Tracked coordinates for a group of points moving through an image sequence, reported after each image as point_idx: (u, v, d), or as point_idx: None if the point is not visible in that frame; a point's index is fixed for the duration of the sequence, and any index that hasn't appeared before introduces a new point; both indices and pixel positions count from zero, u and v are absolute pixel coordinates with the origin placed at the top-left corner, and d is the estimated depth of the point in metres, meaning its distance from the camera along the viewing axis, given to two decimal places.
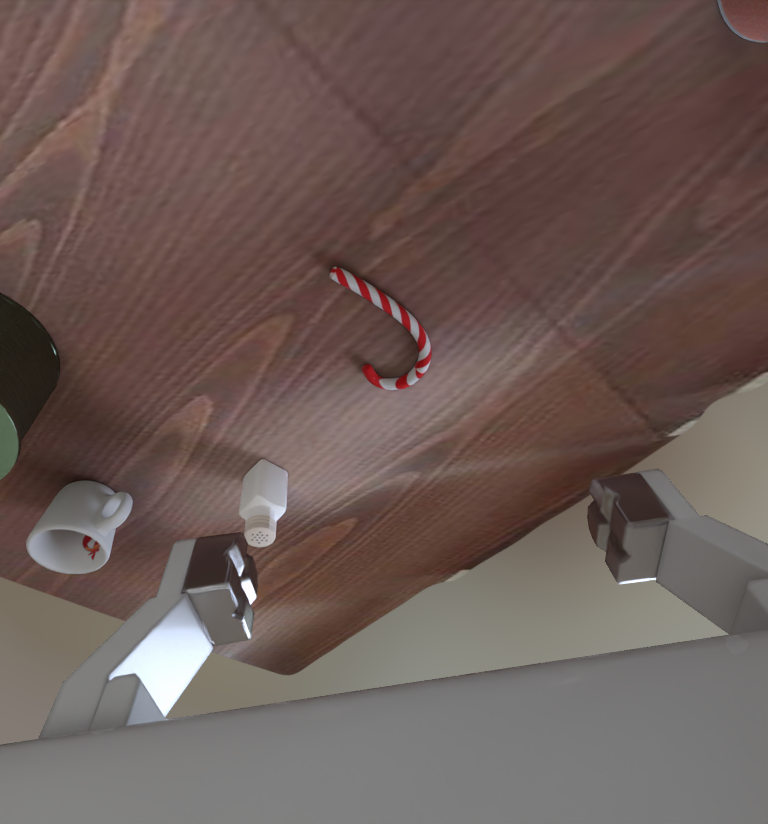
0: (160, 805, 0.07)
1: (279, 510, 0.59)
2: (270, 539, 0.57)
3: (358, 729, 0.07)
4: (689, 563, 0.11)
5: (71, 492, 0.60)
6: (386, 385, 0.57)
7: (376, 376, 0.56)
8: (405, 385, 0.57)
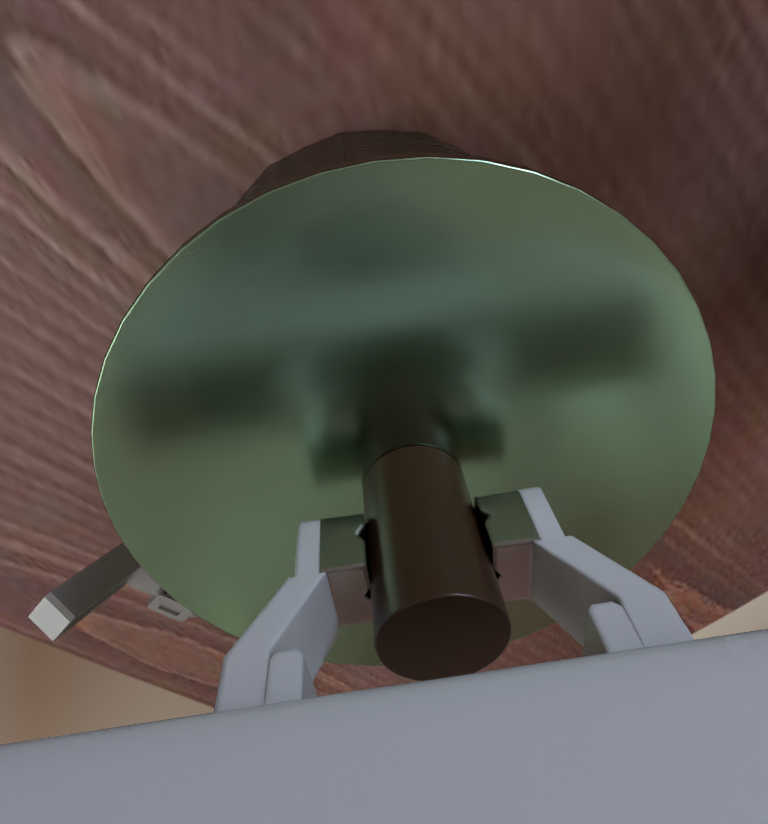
0: (160, 805, 0.07)
1: None
2: None
3: (358, 729, 0.07)
4: (554, 583, 0.11)
5: None
6: None
7: None
8: None
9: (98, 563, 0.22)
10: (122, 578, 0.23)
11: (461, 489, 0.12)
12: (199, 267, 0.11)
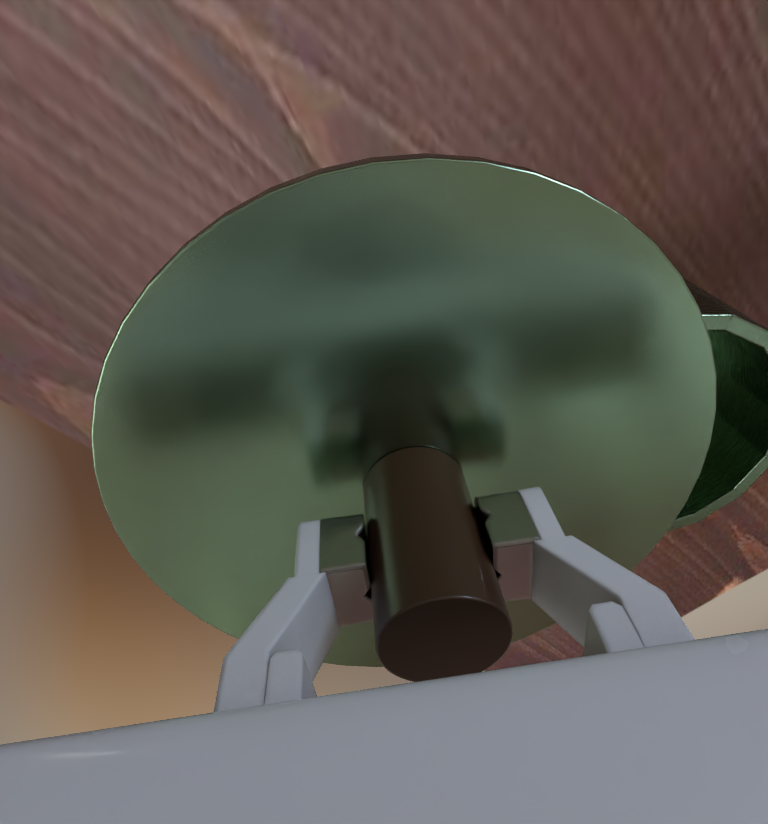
0: (160, 805, 0.07)
1: None
2: None
3: (358, 729, 0.07)
4: (554, 583, 0.11)
5: None
6: None
7: None
8: None
9: None
10: None
11: (462, 490, 0.12)
12: (199, 268, 0.11)
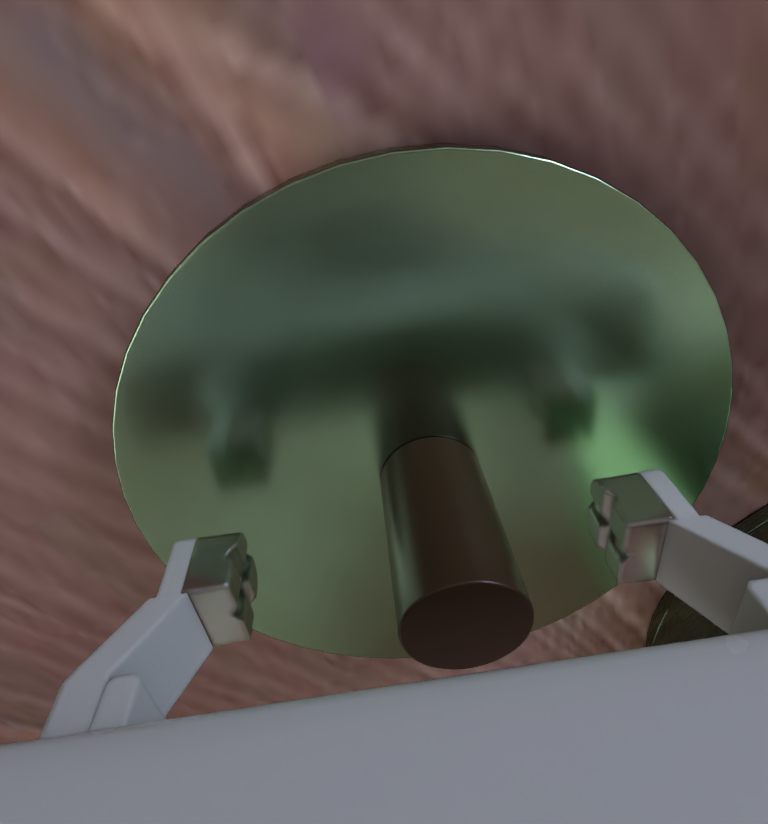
0: (160, 805, 0.07)
1: None
2: None
3: (358, 729, 0.07)
4: (689, 563, 0.11)
5: None
6: None
7: None
8: None
9: None
10: None
11: (479, 479, 0.13)
12: (219, 260, 0.11)
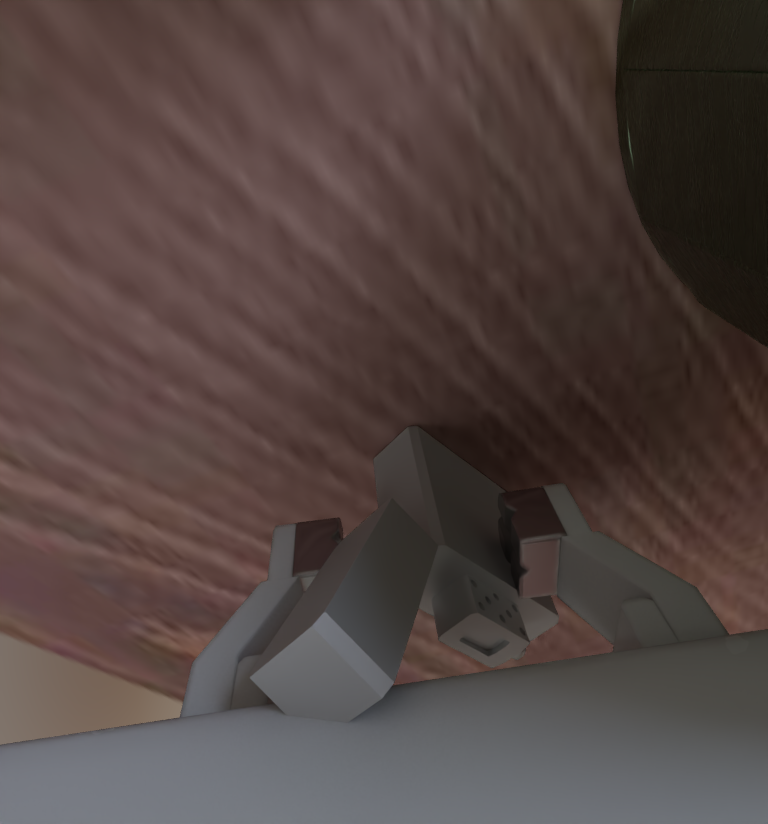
0: (160, 805, 0.07)
1: None
2: None
3: (358, 729, 0.07)
4: (581, 579, 0.11)
5: None
6: None
7: None
8: None
9: (376, 539, 0.09)
10: (424, 576, 0.10)
11: None
12: None
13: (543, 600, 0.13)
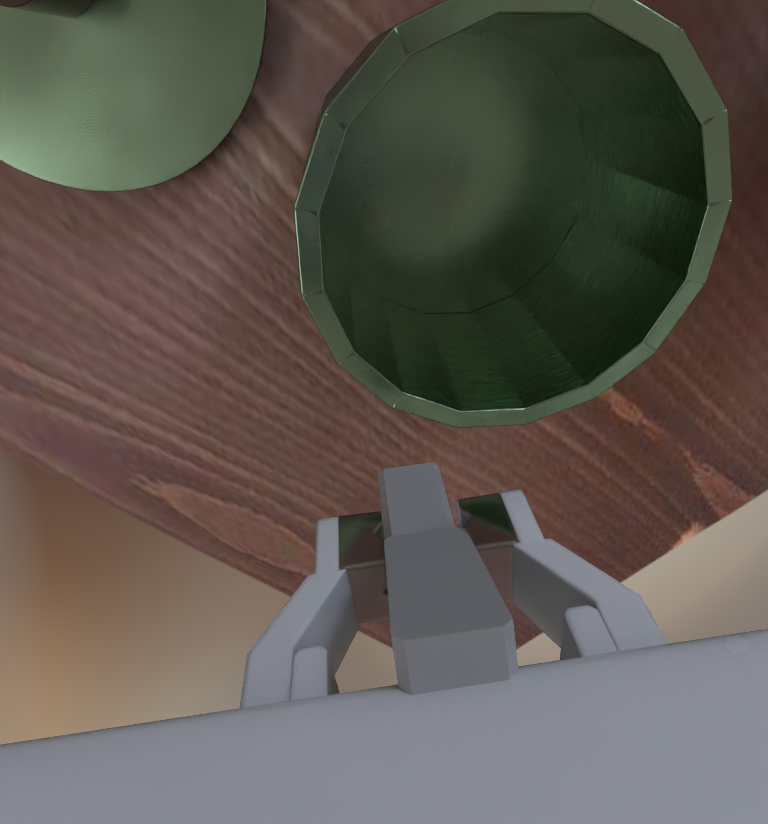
0: (160, 805, 0.07)
1: None
2: None
3: (358, 729, 0.07)
4: (533, 586, 0.11)
5: None
6: None
7: None
8: None
9: None
10: None
11: None
12: None
13: None
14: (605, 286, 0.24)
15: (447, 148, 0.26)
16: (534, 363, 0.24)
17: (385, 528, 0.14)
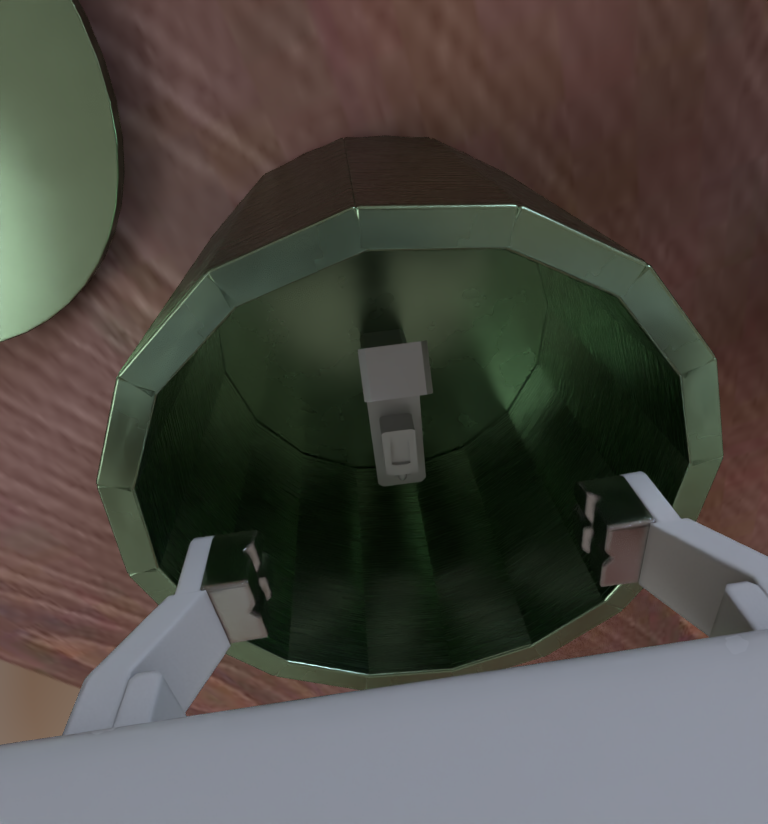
0: (160, 805, 0.07)
1: None
2: None
3: (358, 729, 0.07)
4: (670, 566, 0.11)
5: None
6: None
7: None
8: None
9: None
10: None
11: None
12: None
13: (424, 463, 0.20)
14: (563, 486, 0.19)
15: (371, 294, 0.20)
16: (472, 582, 0.19)
17: None
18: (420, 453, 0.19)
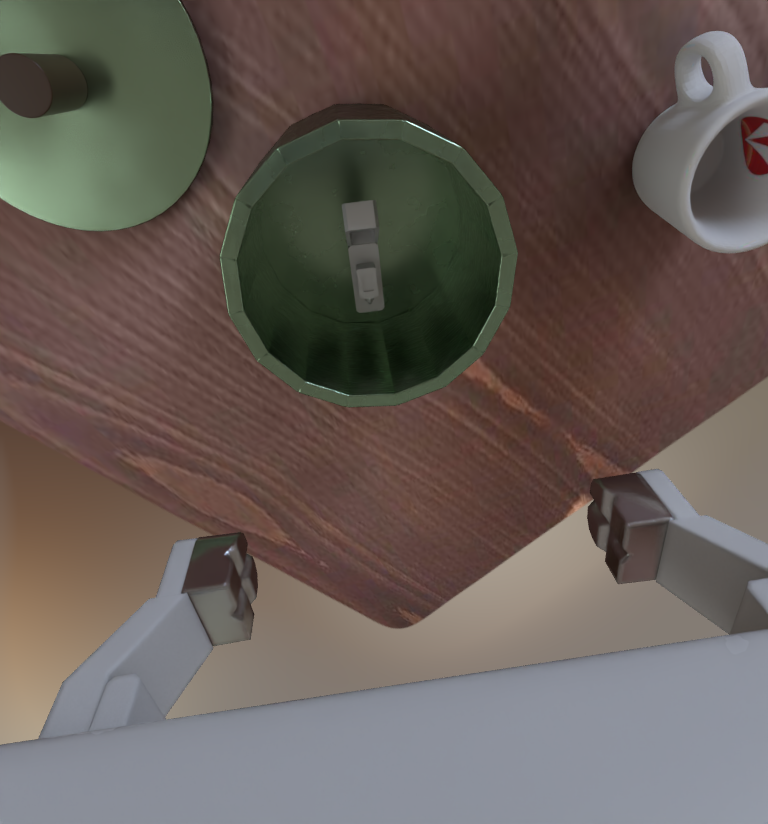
0: (160, 805, 0.07)
1: None
2: None
3: (358, 729, 0.07)
4: (689, 563, 0.11)
5: (642, 167, 0.32)
6: None
7: None
8: None
9: None
10: None
11: (63, 62, 0.28)
12: None
13: (383, 298, 0.34)
14: (462, 305, 0.32)
15: (352, 200, 0.34)
16: (410, 361, 0.32)
17: None
18: (380, 290, 0.33)
